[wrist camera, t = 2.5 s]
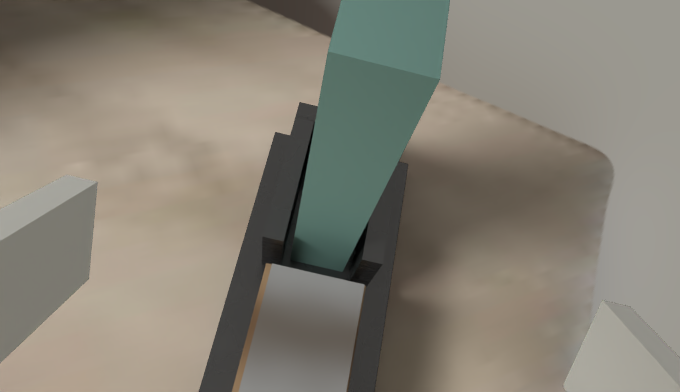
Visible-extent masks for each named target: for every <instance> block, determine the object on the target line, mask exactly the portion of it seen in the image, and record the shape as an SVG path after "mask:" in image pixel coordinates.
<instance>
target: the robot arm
mask: <svg viewBox="0 0 680 392" xmlns="http://www.w3.org/2000/svg"><path fill="white" fill-rule="evenodd" d="M97 184H98V182H96V181H92V180H88V179H83V178H79V177H75V176H70V175H65V176H63V177H61V178H59V179H57V180H55V181H53V182H52V183H50V184H48V185H46V186H44V187H42V188H40V189H38V190H36V191H34V192H32V193H30V194H28V195H26V196H24V197H22V198H21V199H19V200H17V201H15V202H13V203H11V204H9V205H7V206H5V207H3V208H1V209H0V363H1V362H2V361H3V360H4V359H5V358H6V357H7V356H8V355H9V354H10V353H11V352H12V351H13V350H15V349H16V348H17V347H18V346H19V345H20V344H21V343H22V342H23V341H24V340H25V339H26V338H27V337H28V336H29V335H30V334H31V333H32V332H34V331H35V330H36V329H37V328H38V327H39V326H40V325H41V324H42V323H43V322H44V321H45V320H46V319H47V318H48V317H49V316H50V315H51V314H52V313H54V312H55V311H56V310H57V309H58V308H59V307H60V306H61V305H62V304H63V303H64V302H65V301H66V300H67V299H68V298H69V297H70V296H71V295H72V294H74V293H75V292H76V291H77V290H78V289H79V288H80V287H81V286H82V285H83V284H84V283H85V282H86V281H87V280H88V279H89V271H90V260H91V249H92V239H93V228H94V217H95V206H96V195H97ZM563 387H564V389H565V391H566V392H680V357H679V356H678V355H677V354H676V353H675V352H674V351H673V350H672V349H671V348H670V347H669V346H668V345H667V344H666V343H665V342H664V341H663V340H662V339H661V338H660V337H659V336H658V335H657V333H656V332H655V331H654V330H652V328H651V327H650V326H649V325H648V324H647V323H646V322H645V321H644V320H643V319H642V318H641V317H640V316H639V315H638V314H637V313H636V312H635V311H634V310H633V309H632V308H631V307H629V306H626V305H621V304H617V303H613V302H608V301H604V300H602V302H601V304H600V306H599V308H598V311H597V313H596V315H595V317H594V319H593V322H592V324H591V326H590V328H589V330H588V332H587V334H586V337H585V339H584V341H583V343H582V345H581V347H580V350H579V352H578V354H577V356H576V358H575V360H574V363H573V365H572V367H571V369H570V371H569V373H568V376H567V378H566V380H565V382H564V384H563Z"/></svg>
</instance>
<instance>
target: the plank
mask: <svg viewBox="0 0 680 392" xmlns="http://www.w3.org/2000/svg"><path fill="white" fill-rule="evenodd" d="M449 3H450V0H341V4H340V7H339V11H338V15H337V19H336V23H335V26H334V30H333V34H332V38H331V42H330V46H329V49H328V54H327V60H326V65H325V71H324V76H323V82H322V87H321V93H320V98H319V104H318V109H317V115H316V120H315V126H314V131H313V137H312V142H311V148H310V153H309V159H308V164H307V170H306V175H305V181H304V186H303V192H302V197H301V203H300V208H299V214H298V219H297V225H296V230H295V236H294V241H293V247H292V252H291V258H290V260H293V261H297V262H301V263H306V264H310V265H314V266H319V267H323V268H328V269H332V270H336V271H341V272H343V270H344V268H345V266H346V264H347V262H348V260H349V258H350V256H351V254H352V252H353V250H354V248H355V246H356V244H357V242H358V240H359V238H360V236H361V234H362V232H363V230H364V228H365V226H366V224H367V222H368V220H369V218H370V216H371V215H372V213H373V211H374V209H375V207H376V205H377V203H378V201H379V199H380V197H381V195H382V193H383V191H384V189H385V187H386V185H387V183H388V181H389V179H390V177H391V175H392V173H393V171H394V169H395V167H396V165H397V163H398V161H399V159H400V157H401V155H402V153H403V151H404V149H405V147H406V145H407V143H408V141H409V140H410V138H411V136H412V134H413V132H414V130H415V128H416V126H417V124H418V122H419V120H420V118H421V116H422V114H423V112H424V110H425V108H426V106H427V104H428V102H429V100H430V98H431V96H432V94H433V92H434V90H435V88H436V86H437V84H438V82H439V80H440V74H441V67H442V59H443V51H444V43H445V35H446V28H447V20H448V11H449Z"/></svg>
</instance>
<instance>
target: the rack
mask: <svg viewBox="0 0 680 392" xmlns="http://www.w3.org/2000/svg"><path fill="white" fill-rule="evenodd" d="M317 109H318V106H314V105H309V104H305V103H301V102H300V103H299V107H298V110H297V114H296V117H295V121H294V125H293V128H292V132H291V135H285V134H281V133H277V132H275V135H274V138H273V142H272V145H271V149H270V152H269V155H268V159H267V162H266V166H265V169H264V172H263V176H262V179H261V183H260V186H259V189H258V193H257V196H256V199H255V203H254V206H253V210H252V213H251V216H250V220H249V223H248V227H247V230H246V233H245V237H244V240H243V244H242V247H241V250H240V254H239V257H238V261H237V264H236V267H235V271H234V274H233V278H232V281H231V284H230V288H229V291H228V295H227V298H226V301H225V305H224V308H223V311H222V315H221V318H220V322H219V325H218V328H217V332H216V335H215V339H214V342H213V345H212V349H211V352H210V356H209V359H208V362H207V366H206V369H205V373H204V376H203V379H202V383H201V386H200V390H199V392H232V389H233V386H234V382H235V378H236V374H237V371H238V367H239V363H240V359H241V356H242V352H243V348H244V344H245V341H246V337H247V333H248V329H249V326H250V322H251V318H252V314H253V311H254V307H255V303H256V299H257V296H258V292H259V288H260V284H261V281H262V277H263V273H264V269H265V266H266V263H268V264H272V263H273V264H277V265H281V266H286V267H290V268H294V269H299V270H303V271H308V272H312V273H316V274H321V275H325V276H329V277H334V278H338V279H343V280H347V281H351V282H356V283H360V284H364V285H365V286H366V289H365V294H364V300H363V306H362V312H361V318H360V324H359V330H358V336H357V341H356V347H355V353H354V359H353V365H352V371H351V377H350V382H349V388H348V392H374V391H375V384H376V378H377V371H378V364H379V358H380V351H381V344H382V337H383V331H384V324H385V317H386V310H387V304H388V297H389V290H390V283H391V277H392V270H393V263H394V256H395V250H396V243H397V236H398V229H399V223H400V216H401V209H402V202H403V196H404V189H405V182H406V176H407V169H408V164H406V163H402V162H399V161H398V163H397V165H396V167H395V169H394V171H393V173H392V175H391V177H390V179H389V181H388V183H387V185H386V187H385V189H384V191H383V193H382V195H381V197H380V199H379V201H378V203H377V205H376V207H375V209H374V211H373V213H372V215H371V216H370V218H369V220H368V222H367V224H366V226H365V228H364V230H363V232H362V234H361V236H360V238H359V240H358V242H357V244H356V246H355V248H354V250H353V252H352V254H351V256H350V258H349V260H348V262H347V264H346V266H345V268H344V270H343V272H341V271H336V270H332V269H328V268H323V267H319V266H314V265H310V264H306V263H301V262H297V261H293V260H290V258H291V252H292V247H293V241H294V236H295V230H296V225H297V219H298V214H299V208H300V203H301V197H302V192H303V186H304V181H305V175H306V170H307V164H308V159H309V153H310V148H311V142H312V137H313V131H314V126H315V120H316V115H317Z"/></svg>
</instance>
